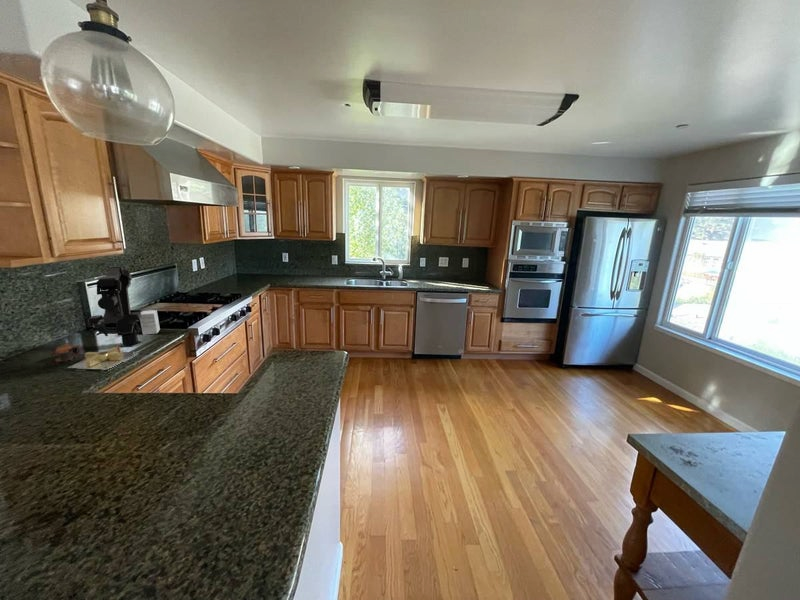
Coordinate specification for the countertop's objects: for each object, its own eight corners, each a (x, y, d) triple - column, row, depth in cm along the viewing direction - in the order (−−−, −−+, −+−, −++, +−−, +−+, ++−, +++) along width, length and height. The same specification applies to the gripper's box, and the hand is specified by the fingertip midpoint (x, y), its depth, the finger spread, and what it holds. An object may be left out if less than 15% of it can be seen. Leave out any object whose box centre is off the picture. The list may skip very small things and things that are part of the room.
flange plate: (101, 353, 165) (101, 350, 164) (138, 354, 165) (137, 351, 164) (66, 370, 147) (65, 366, 147) (107, 371, 147) (106, 367, 147)
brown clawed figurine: (47, 366, 151) (43, 349, 152) (62, 366, 160) (58, 350, 161) (78, 356, 155) (74, 340, 156) (91, 357, 164) (87, 342, 165)
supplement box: (145, 330, 197) (142, 310, 194) (160, 329, 200) (157, 309, 197) (142, 334, 191) (138, 314, 188) (157, 333, 194) (154, 313, 191)
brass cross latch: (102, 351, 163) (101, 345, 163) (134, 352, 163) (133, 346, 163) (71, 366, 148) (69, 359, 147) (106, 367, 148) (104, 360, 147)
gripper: (80, 310, 143) (87, 343, 147) (133, 306, 151) (139, 337, 155) (89, 304, 152) (96, 335, 157) (138, 300, 161) (144, 330, 165)
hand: (119, 334), depth 158 cm, fingers open, 9 cm apart
